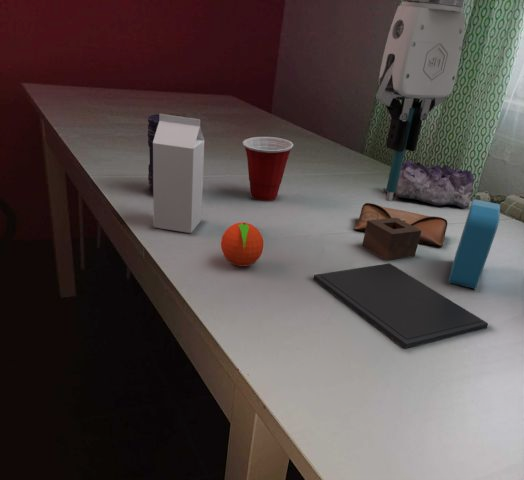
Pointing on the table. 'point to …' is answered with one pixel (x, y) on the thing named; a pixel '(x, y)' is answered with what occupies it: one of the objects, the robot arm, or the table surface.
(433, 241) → the sunglasses case
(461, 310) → the tablet
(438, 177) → the geode
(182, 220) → the milk carton
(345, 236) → the table surface
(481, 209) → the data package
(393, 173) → the stylus
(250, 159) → the plastic cup
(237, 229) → the clementine
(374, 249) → the pen stand
